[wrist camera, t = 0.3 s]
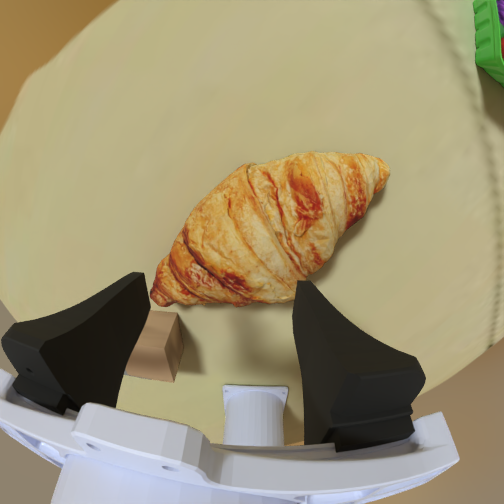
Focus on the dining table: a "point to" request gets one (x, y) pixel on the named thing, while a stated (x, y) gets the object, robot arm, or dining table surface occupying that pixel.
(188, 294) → the croissant
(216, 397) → the dining table surface
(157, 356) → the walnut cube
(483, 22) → the fruit basket
